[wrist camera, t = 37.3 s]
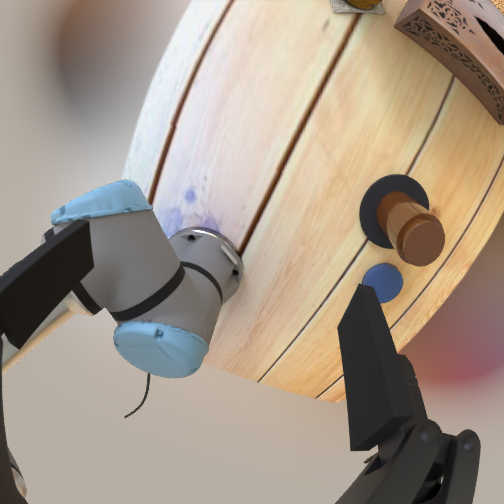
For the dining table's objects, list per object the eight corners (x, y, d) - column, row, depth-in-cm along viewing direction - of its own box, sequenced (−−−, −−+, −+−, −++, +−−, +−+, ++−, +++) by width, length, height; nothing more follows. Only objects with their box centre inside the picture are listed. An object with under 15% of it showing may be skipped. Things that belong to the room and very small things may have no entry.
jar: (392, 242, 43) (416, 280, 33) (367, 212, 41) (389, 244, 31) (423, 214, 39) (456, 245, 29) (400, 181, 38) (432, 205, 28)
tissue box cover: (517, 74, 22) (549, 76, 13) (498, 124, 29) (533, 132, 20) (418, -21, 19) (442, -40, 10) (393, 26, 26) (419, 8, 17)
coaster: (388, 260, 45) (389, 262, 44) (343, 211, 42) (344, 212, 41) (439, 214, 39) (441, 215, 39) (399, 158, 36) (401, 158, 36)
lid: (386, 255, 44) (389, 260, 43) (406, 280, 46) (409, 286, 45) (353, 281, 48) (355, 287, 46) (375, 304, 50) (377, 310, 48)
